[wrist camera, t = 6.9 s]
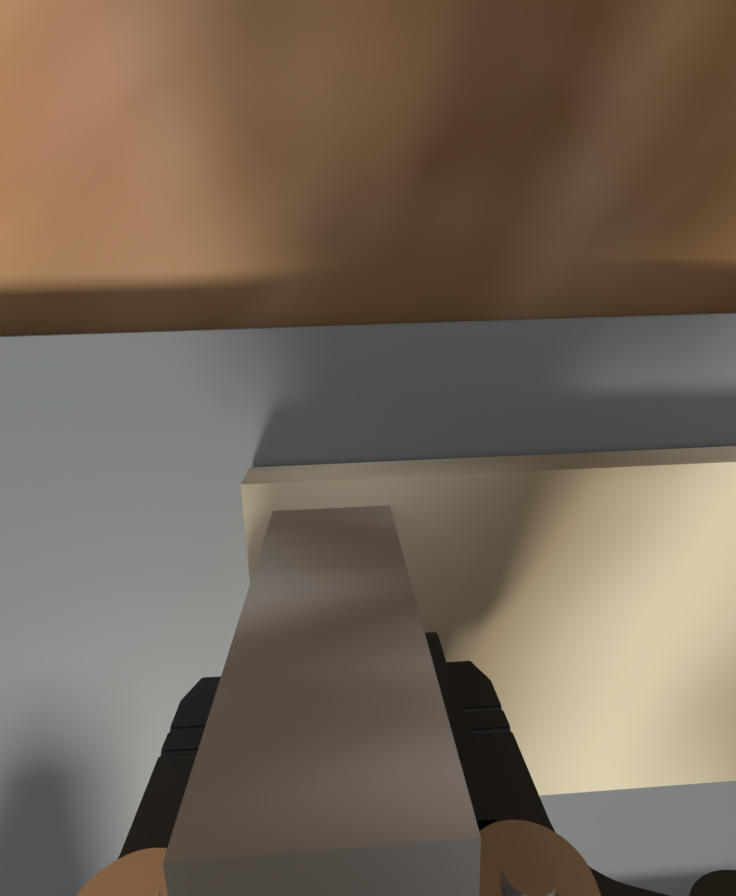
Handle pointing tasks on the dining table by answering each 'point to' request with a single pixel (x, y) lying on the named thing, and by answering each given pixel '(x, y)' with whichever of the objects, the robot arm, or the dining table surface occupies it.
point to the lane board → (224, 543)
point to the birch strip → (457, 658)
